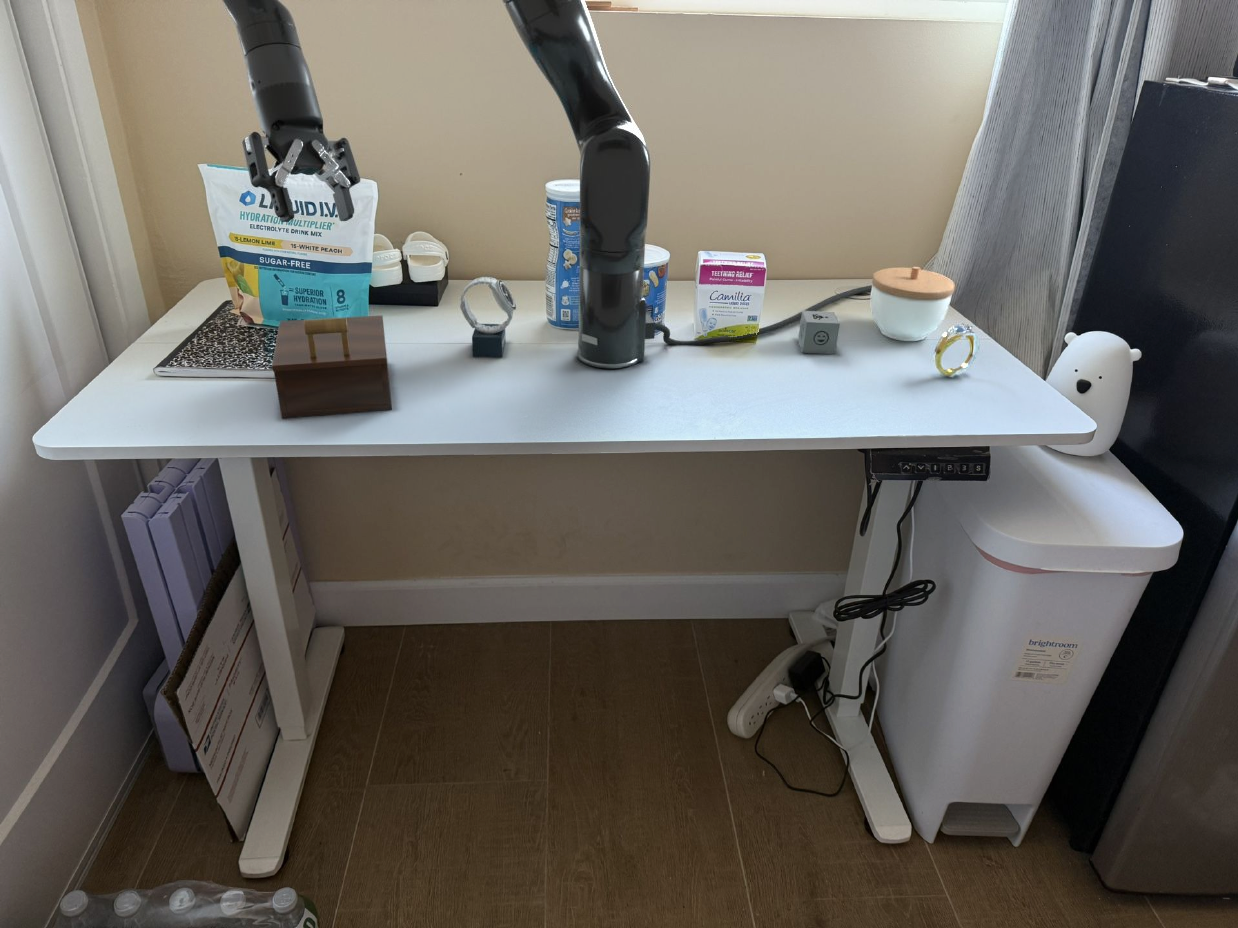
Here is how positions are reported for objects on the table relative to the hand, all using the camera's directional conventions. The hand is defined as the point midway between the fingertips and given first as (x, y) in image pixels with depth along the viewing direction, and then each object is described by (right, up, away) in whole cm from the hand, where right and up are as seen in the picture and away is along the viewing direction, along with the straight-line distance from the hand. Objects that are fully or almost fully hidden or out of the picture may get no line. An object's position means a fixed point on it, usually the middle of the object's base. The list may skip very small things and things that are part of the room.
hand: (318, 220), depth 114 cm
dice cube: (+69, -13, +27) cm, 75 cm away
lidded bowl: (+85, -10, +33) cm, 92 cm away
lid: (0, -15, +4) cm, 16 cm away
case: (0, -21, +7) cm, 22 cm away
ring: (+87, -18, +19) cm, 91 cm away
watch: (+19, -14, +22) cm, 32 cm away
